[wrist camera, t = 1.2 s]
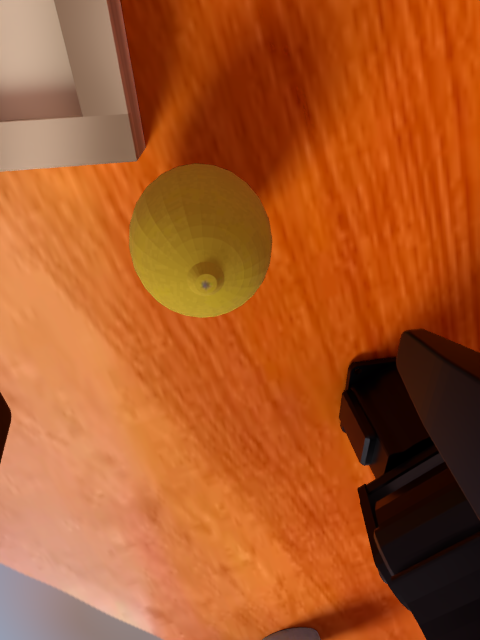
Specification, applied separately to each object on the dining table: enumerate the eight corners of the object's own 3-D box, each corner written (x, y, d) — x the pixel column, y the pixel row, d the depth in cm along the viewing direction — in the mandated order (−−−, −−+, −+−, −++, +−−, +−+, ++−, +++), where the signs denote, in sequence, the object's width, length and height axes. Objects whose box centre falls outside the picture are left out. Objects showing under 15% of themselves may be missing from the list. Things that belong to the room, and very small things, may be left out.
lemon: (125, 160, 16) (84, 212, 10) (247, 140, 17) (288, 177, 10) (157, 271, 19) (142, 369, 13) (260, 253, 20) (298, 340, 13)
